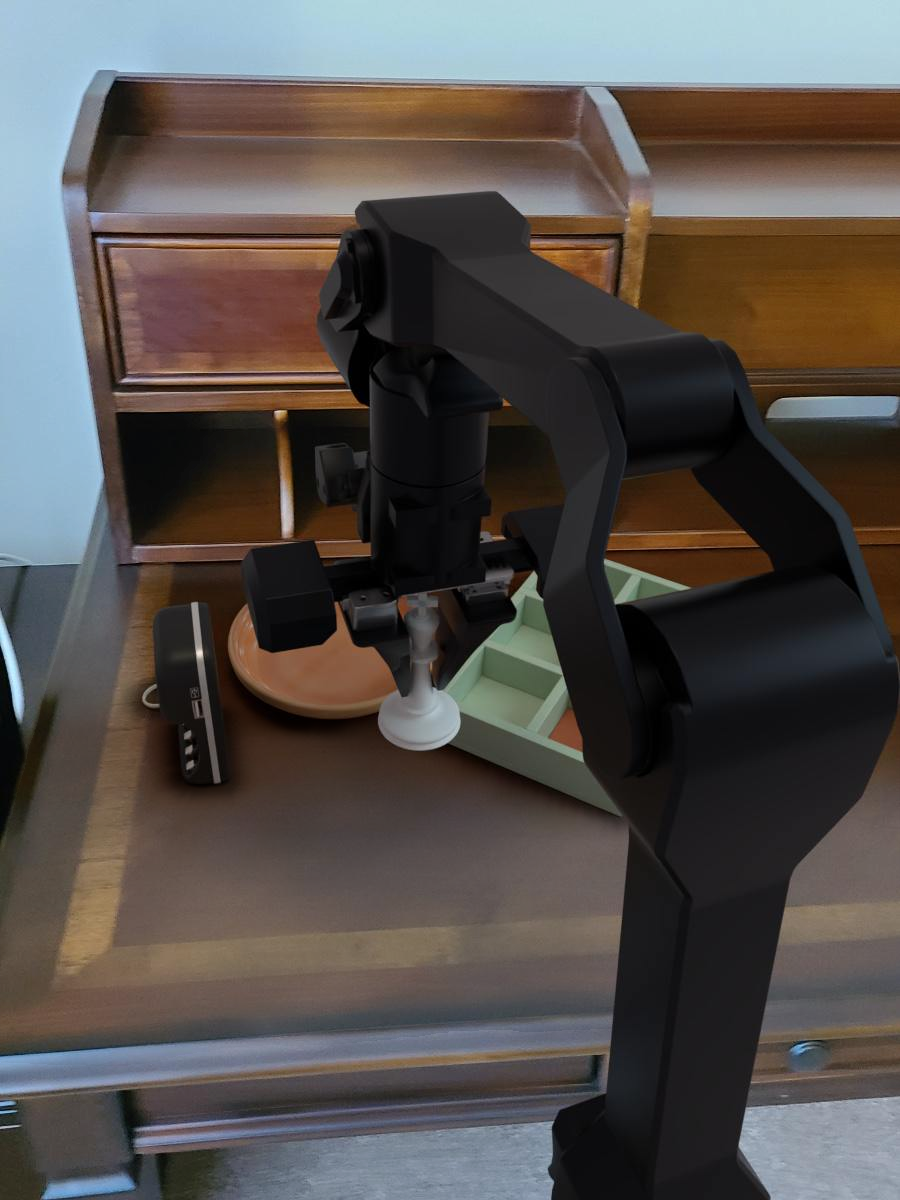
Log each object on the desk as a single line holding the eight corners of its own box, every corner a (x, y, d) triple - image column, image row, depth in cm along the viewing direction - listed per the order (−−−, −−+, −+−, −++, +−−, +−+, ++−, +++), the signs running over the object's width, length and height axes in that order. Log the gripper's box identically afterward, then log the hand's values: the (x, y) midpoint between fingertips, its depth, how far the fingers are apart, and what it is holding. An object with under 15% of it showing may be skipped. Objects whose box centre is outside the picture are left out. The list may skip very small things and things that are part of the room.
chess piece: (461, 752, 62) (469, 618, 56) (375, 750, 62) (374, 616, 56) (460, 693, 66) (467, 563, 60) (379, 691, 66) (379, 560, 59)
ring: (151, 675, 79) (187, 678, 78) (155, 687, 79) (191, 690, 78) (133, 699, 77) (169, 703, 76) (137, 711, 77) (174, 715, 76)
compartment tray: (621, 817, 71) (629, 781, 69) (427, 734, 76) (428, 698, 74) (719, 634, 86) (728, 600, 84) (552, 576, 91) (556, 542, 89)
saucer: (298, 577, 90) (296, 548, 88) (473, 632, 85) (475, 602, 83) (188, 696, 78) (183, 665, 76) (384, 767, 74) (384, 736, 72)
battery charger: (168, 721, 76) (146, 596, 69) (222, 713, 77) (206, 589, 70) (173, 795, 71) (150, 667, 64) (231, 786, 72) (214, 659, 64)
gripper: (544, 365, 61) (522, 582, 71) (214, 401, 56) (238, 628, 66) (627, 465, 53) (588, 695, 62) (247, 517, 48) (270, 757, 57)
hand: (420, 688), depth 62 cm, fingers closed on chess piece
